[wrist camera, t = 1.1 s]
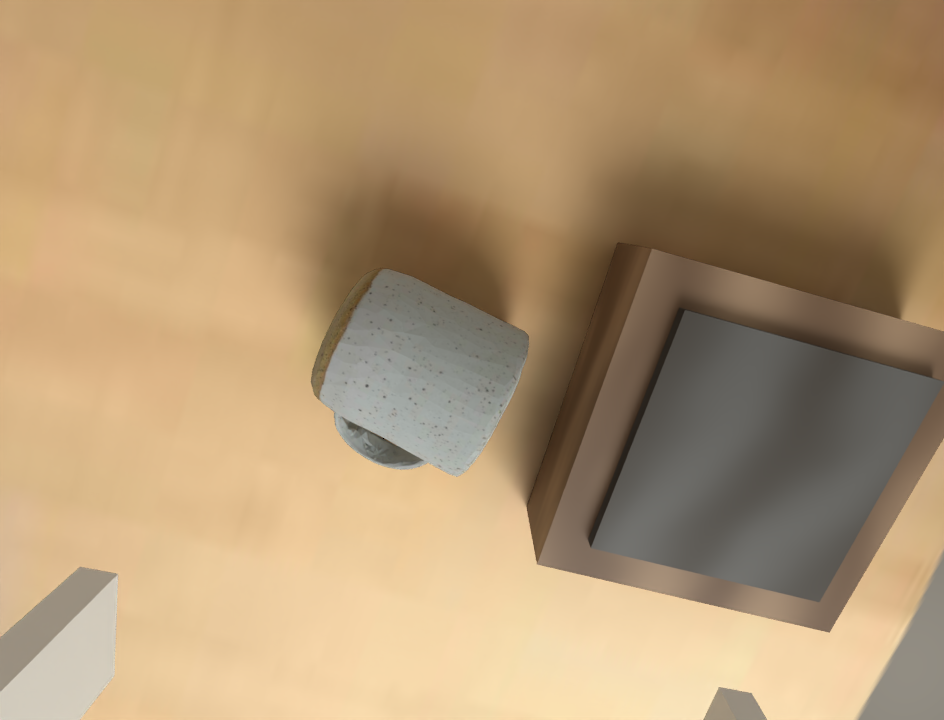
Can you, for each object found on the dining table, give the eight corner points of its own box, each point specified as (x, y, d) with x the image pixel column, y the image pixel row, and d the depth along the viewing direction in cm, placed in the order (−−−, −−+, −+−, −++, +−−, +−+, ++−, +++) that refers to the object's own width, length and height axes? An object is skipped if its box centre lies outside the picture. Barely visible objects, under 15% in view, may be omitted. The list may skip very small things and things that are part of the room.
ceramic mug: (384, 250, 25) (345, 266, 18) (525, 319, 26) (543, 361, 19) (312, 420, 28) (253, 494, 21) (441, 476, 29) (429, 566, 22)
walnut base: (526, 507, 29) (538, 572, 24) (617, 242, 25) (657, 249, 20) (773, 567, 30) (837, 641, 25) (901, 323, 26) (1011, 350, 21)
